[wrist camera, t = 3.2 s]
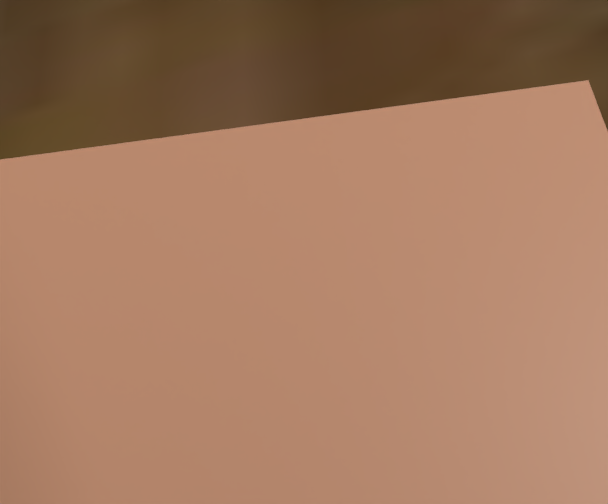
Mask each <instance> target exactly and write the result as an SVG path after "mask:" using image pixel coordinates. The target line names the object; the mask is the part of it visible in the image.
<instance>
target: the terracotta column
mask: <svg viewBox="0 0 608 504" xmlns="http://www.w3.org/2000/svg"><path fill="white" fill-rule="evenodd" d="M0 504H608V131H607V129H606V126H605V123H604V121H603V118H602V115H601V113H600V110H599V107H598V105H597V102H596V100H595V97H594V94H593V92H592V89H591V86H590V84H589V81H588V80H587V81H580V82H573V83H565V84H558V85H550V86H543V87H535V88H528V89H521V90H513V91H506V92H498V93H491V94H484V95H476V96H469V97H461V98H454V99H447V100H439V101H432V102H424V103H417V104H409V105H402V106H395V107H387V108H380V109H372V110H365V111H358V112H350V113H343V114H335V115H328V116H321V117H313V118H306V119H298V120H291V121H283V122H276V123H269V124H261V125H254V126H246V127H239V128H232V129H224V130H217V131H209V132H202V133H195V134H187V135H180V136H172V137H165V138H158V139H150V140H143V141H135V142H128V143H120V144H113V145H106V146H98V147H91V148H83V149H76V150H69V151H61V152H54V153H46V154H39V155H32V156H24V157H17V158H9V159H2V160H0Z"/></svg>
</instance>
